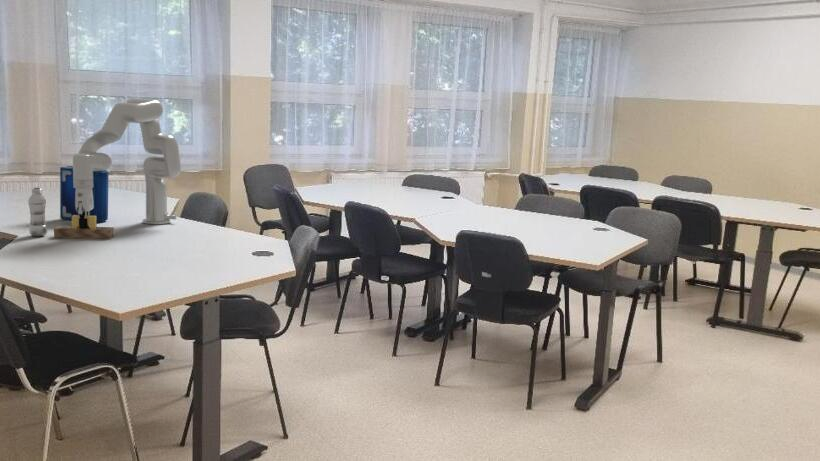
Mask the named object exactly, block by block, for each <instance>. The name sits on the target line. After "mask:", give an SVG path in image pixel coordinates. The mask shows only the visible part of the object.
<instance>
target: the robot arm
mask: <svg viewBox="0 0 820 461" xmlns="http://www.w3.org/2000/svg"><path fill="white" fill-rule="evenodd" d="M163 112H164V108H163V105H162V103H161V102H160V101H159V100H156V99H147V98H146V99H145V98H131V99H128V100H127V101H126V102H118V103H116V104H114V106H113V107H112V108H111V110H110V113H108V114H109V115H108V116H107V118H106V120H105V122H104V123H103V126H101V129H100V130H98V131H97V132H95V133H94V134H93V135H91V136H90V137H89V138H88V139H86V140H85V141H84V142H83V144H82V145H81V147H80V149H79V151H78V153H75V154H73V155H72V166H73V187H74V188H76V192H75V193H76V194H75V206H76V211H77V212H78V215H79V228H88V227H90V226H88V223H87V219H86V218H87V216H89V211H91V210H92V209H93V208H94V203H93V191H92V188H93V171H94V170H97V171H104V170H106V171H108V169H109V168H110V167H111V166H112V162H113V161H112V158H111V157H110V156H109V155H108V154H107V153H103V152H98V151H99V150H100V149H101V148H102V147H105V146H108V145H110V144H114V143H116V142H118V141H119V140H121V138H122V137H123V135H124V133H125V130H126V129H127V127H128V126H129V124H131V123H132V124H139V126H140V131H141V135H142V136H141V137H142V138H141V139H142V143H143V144H142V145H143V149H144V151H145V152H146V153H148V154H151V156H147V157H146V158H145V159H144V160H143V164H142V169H143V173H144V178H145V180H144V181H145V218H143V219H142V223H143V224H146V225H166V224H170V223H171V220H177V215H175V214H173V215H171V214H169V212H168V191H167V190H168V185H167V182H166V180H165V178H168V179H174V178H177V177H178V176H179V175H180V173H181V169H182V168H181V167H182V166H181V165H182V164H181V157H180V156H181V155H180V150H179V143H178V141H177V139H176V138H175V137H174V136H173V135H170V134H165V133H164V134H163V133H162V128H161V123H160V121H159V118H161V116H162V115H163ZM157 155H158V156H157ZM159 155H161V156H159Z"/></svg>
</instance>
